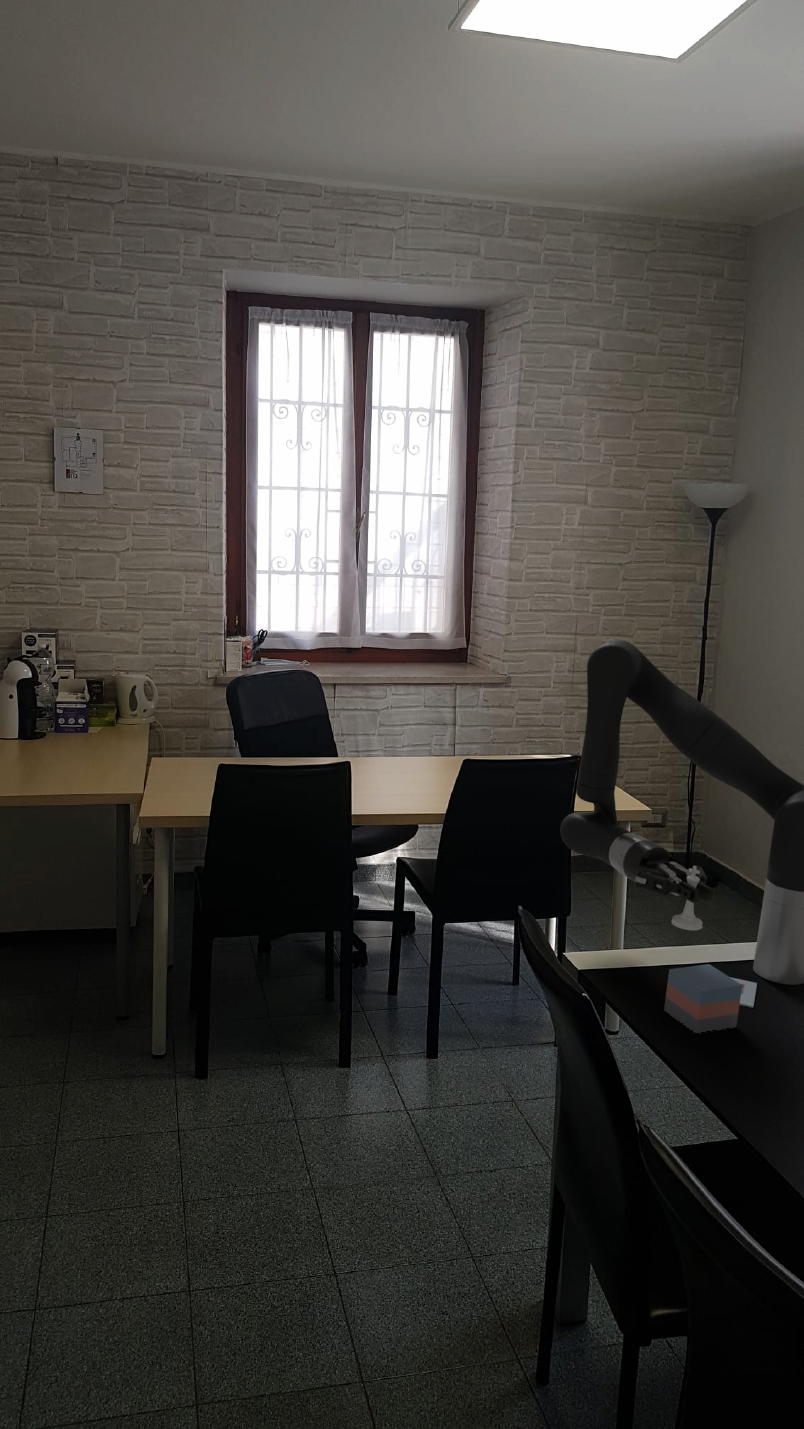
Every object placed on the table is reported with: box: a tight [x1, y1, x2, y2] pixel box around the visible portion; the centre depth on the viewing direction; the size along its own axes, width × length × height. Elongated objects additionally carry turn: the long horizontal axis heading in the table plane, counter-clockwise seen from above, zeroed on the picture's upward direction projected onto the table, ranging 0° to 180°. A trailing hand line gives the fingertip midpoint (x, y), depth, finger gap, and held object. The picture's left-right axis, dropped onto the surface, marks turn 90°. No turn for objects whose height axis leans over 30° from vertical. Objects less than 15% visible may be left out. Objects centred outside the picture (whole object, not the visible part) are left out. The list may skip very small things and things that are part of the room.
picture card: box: [729, 976, 758, 1009], centre depth 183 cm, size 10×7×1 cm
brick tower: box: [663, 963, 742, 1034], centre depth 171 cm, size 8×8×7 cm
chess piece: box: [671, 865, 703, 931], centre depth 173 cm, size 5×5×10 cm
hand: (703, 896), depth 170 cm, fingers closed on chess piece
